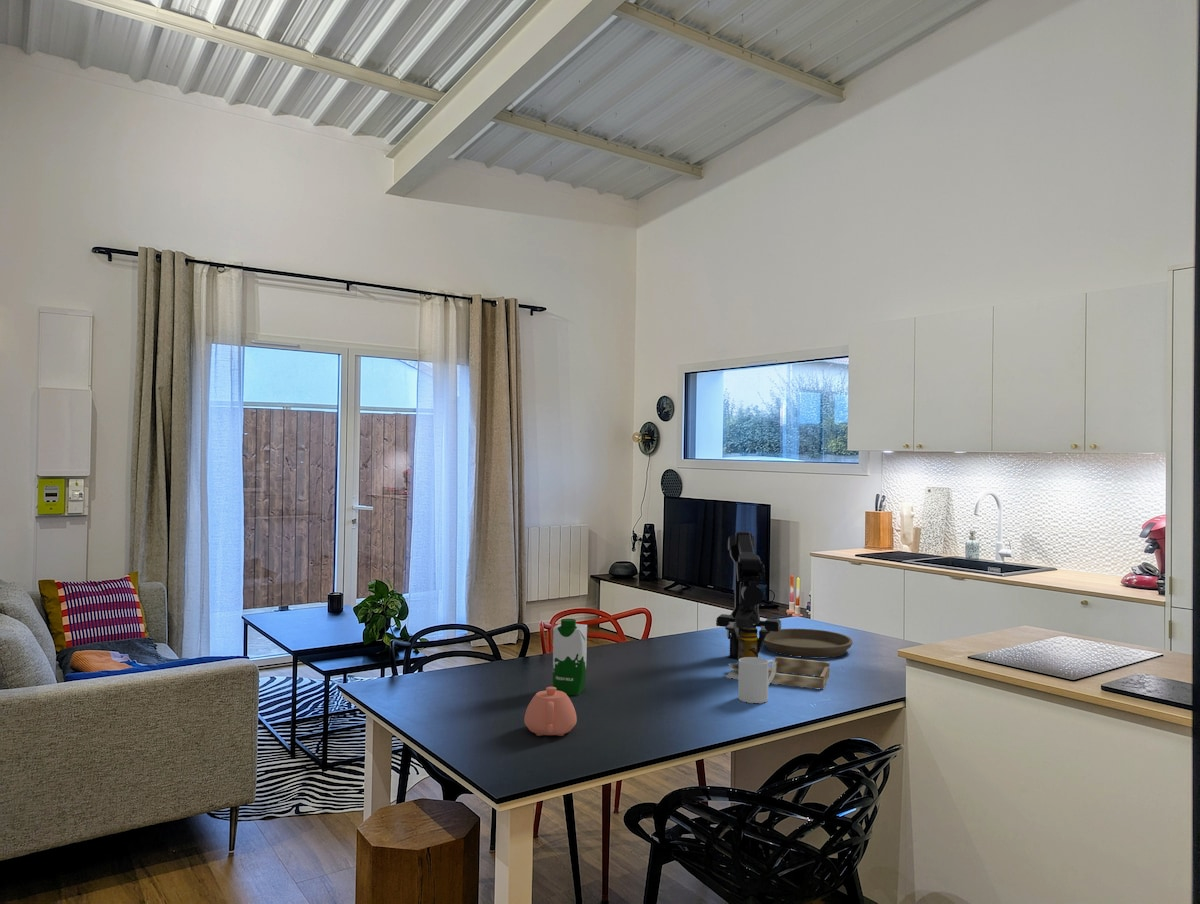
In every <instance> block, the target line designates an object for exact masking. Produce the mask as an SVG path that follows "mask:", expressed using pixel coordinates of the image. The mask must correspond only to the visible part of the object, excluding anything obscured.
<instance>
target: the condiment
mask: <svg viewBox="0 0 1200 904" xmlns="http://www.w3.org/2000/svg"><path fill="white" fill-rule="evenodd" d="M758 641H759V631H758V628H757V627H756V628H754V627H752V628H751V629H746V628H740V636H739V638H738V659H737V663H728V666H729V667H730V668H731V669H732V670H733V669H734V670H739V659H740V658H744V657H756V658H759V653H758Z"/></svg>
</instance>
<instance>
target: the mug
mask: <svg viewBox="0 0 1200 904" xmlns="http://www.w3.org/2000/svg"><path fill="white" fill-rule="evenodd" d="M774 661H775V660H773V659H765V658H762V657H758V658H756V657H744V658H740V659H739V676H738V679H737V680H738V681H737V683H738V684H737V687H738V688H737V689H738V690H737V693H738V694H737V697H738V700H739V701H741V702H743V703H746V702H747V704H753V703H759V704H765V703H767V702H768V700H769V685H770V683H771V682H772V680H773V678H774V676H775V673H776V663H775V662H774ZM770 663H771V665H772V672H771V675H770V677H769V679H768V669H769V664H770ZM764 702H765V703H764Z"/></svg>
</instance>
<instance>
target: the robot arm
mask: <svg viewBox="0 0 1200 904" xmlns="http://www.w3.org/2000/svg"><path fill="white" fill-rule="evenodd" d="M755 545H756V541H755V536H754V535H753V534H752V532H750V531H737V532H735V534H732V535H730V536H728V540H727V550H728V551H729V556H730V558H731V560H732V562H733V563H734V608H733V610H732V612H730V614H723V613H721V614H720V615H718V616H717V617H716V619H715V622H716V623H715V625H716V627H722V628H723V627H724V629H725V630H726V637H727V639H728V640H729V655H728V658H730V659H737V660H738V638H739V636H740V628H746V629H751V628H752V627H754V628H756V629H757V627H758V628H760V630H759V631H758V639H759V641H758V654H759V653H760V652H761V649H762V647H763V645H764V643H763V641H764V639H765V637H766V635H767V634H768V633H770V632H771V631H774V632H778V631H779V630H780V629H782V620H780V618H770V617H768V618H766V619H765V620H761V616H760V612H759V606H760V605H759V604H761V603H762V601H763V598H764V593H763V590H762V589H761V588H760V583H761V584H762V583H764V582H765V580H766V570H765V569H766V568H765V565H764V563H763V562H762V561H761V558H760V556H759V555H758V554H756V553H755V552H754V550H755V548H756V546H755Z"/></svg>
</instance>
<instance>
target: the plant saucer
mask: <svg viewBox="0 0 1200 904" xmlns="http://www.w3.org/2000/svg"><path fill="white" fill-rule="evenodd" d="M853 644H854V643H853V639H852V638H851V637H850V636H848V635H845V634H842V633H839V632H835V631H829V630H823V629H821V630H820V629H813V628H781V629H780V630H779V631H778V632H774V631H771V632H770V633H768V634H767V635H766V637H765V639H764V641H763V645H765V646H766V648H767V650H769V651H771V650H772V651H771V652H773V651H774V652H773V653H775V652H777V653H776V654H779V653H781V654H780V655H783V654H786V655H785V656H788V655H792V656H791V657H794V656H801V657H800V658H802V657H831V658H835V657H834V656H837V657H840V656H843V655H844V654H846V652H847V651H848V650H849V649H850V648H851V647H852V645H853Z"/></svg>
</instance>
